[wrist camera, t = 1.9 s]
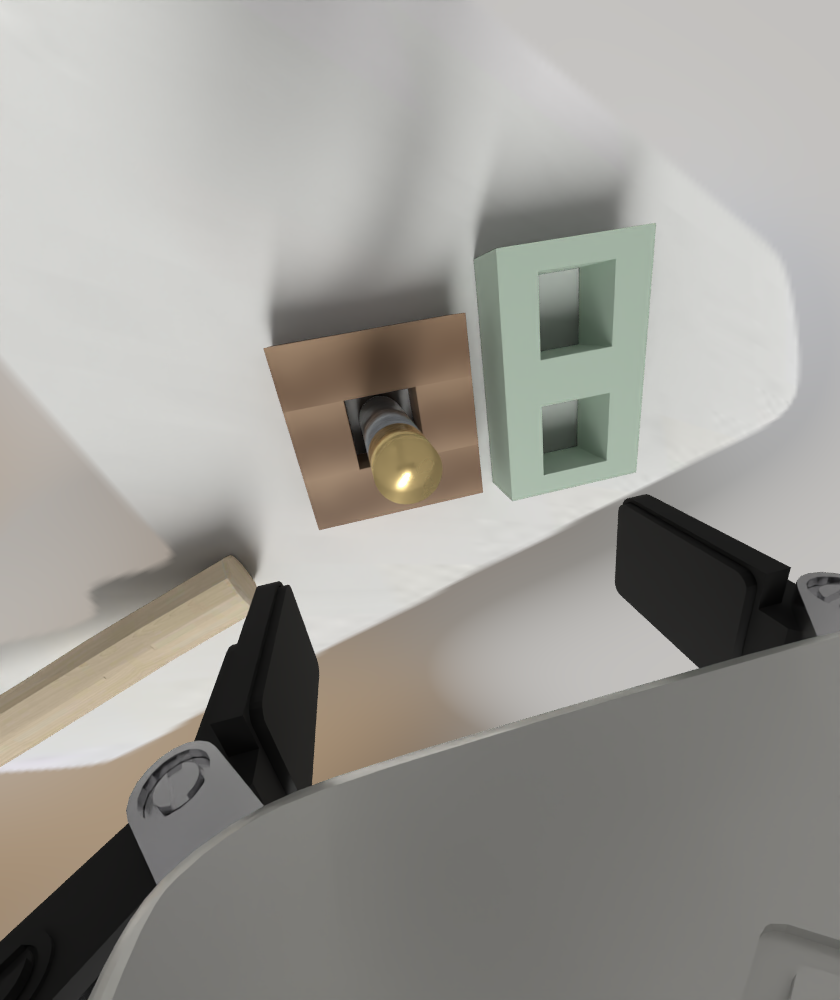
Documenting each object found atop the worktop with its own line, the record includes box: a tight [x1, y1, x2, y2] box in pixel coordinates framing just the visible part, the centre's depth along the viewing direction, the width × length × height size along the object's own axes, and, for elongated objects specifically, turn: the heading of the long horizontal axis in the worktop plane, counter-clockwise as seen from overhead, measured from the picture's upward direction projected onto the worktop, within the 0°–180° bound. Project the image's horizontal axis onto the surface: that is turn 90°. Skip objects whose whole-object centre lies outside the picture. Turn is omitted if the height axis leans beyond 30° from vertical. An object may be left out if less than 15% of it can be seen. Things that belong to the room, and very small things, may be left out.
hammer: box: [0, 555, 257, 767], centre depth 27 cm, size 16×5×30 cm
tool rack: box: [474, 223, 656, 501], centre depth 28 cm, size 16×10×4 cm, turn 9°
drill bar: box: [359, 396, 443, 504], centre depth 23 cm, size 3×3×12 cm
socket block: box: [263, 313, 483, 530], centre depth 27 cm, size 12×12×4 cm
